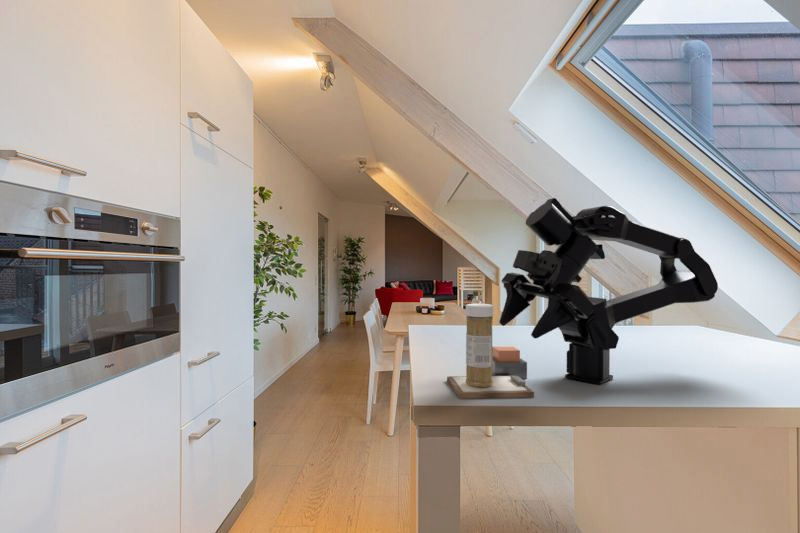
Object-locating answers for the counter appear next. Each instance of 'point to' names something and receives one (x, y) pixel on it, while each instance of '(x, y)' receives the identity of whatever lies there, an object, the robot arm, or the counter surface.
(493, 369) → the button housing
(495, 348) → the button
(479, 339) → the sprinkles bottle
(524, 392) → the clipboard
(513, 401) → the counter surface
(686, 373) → the counter surface
